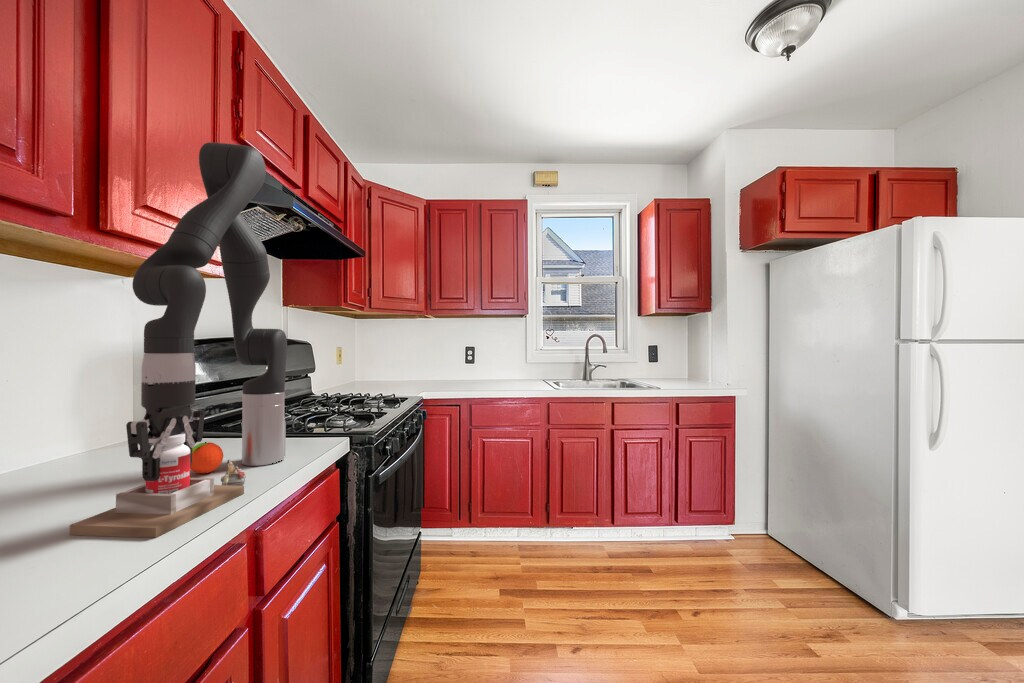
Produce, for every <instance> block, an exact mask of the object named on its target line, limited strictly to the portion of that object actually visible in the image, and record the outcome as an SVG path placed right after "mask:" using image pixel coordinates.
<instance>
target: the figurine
mask: <svg viewBox="0 0 1024 683" xmlns="http://www.w3.org/2000/svg"><path fill="white" fill-rule="evenodd" d="M226 462H227V467H228V468H227V471H226V472H225V475H223V476H221V478H220V482H221V485H229V486H245V485H244V484H245V482H246V477H247V475H246V473H245V472H244V471H243V468H239V467H238V465H234V463H233V462H232V460H231V459H227V460H226Z"/></svg>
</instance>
